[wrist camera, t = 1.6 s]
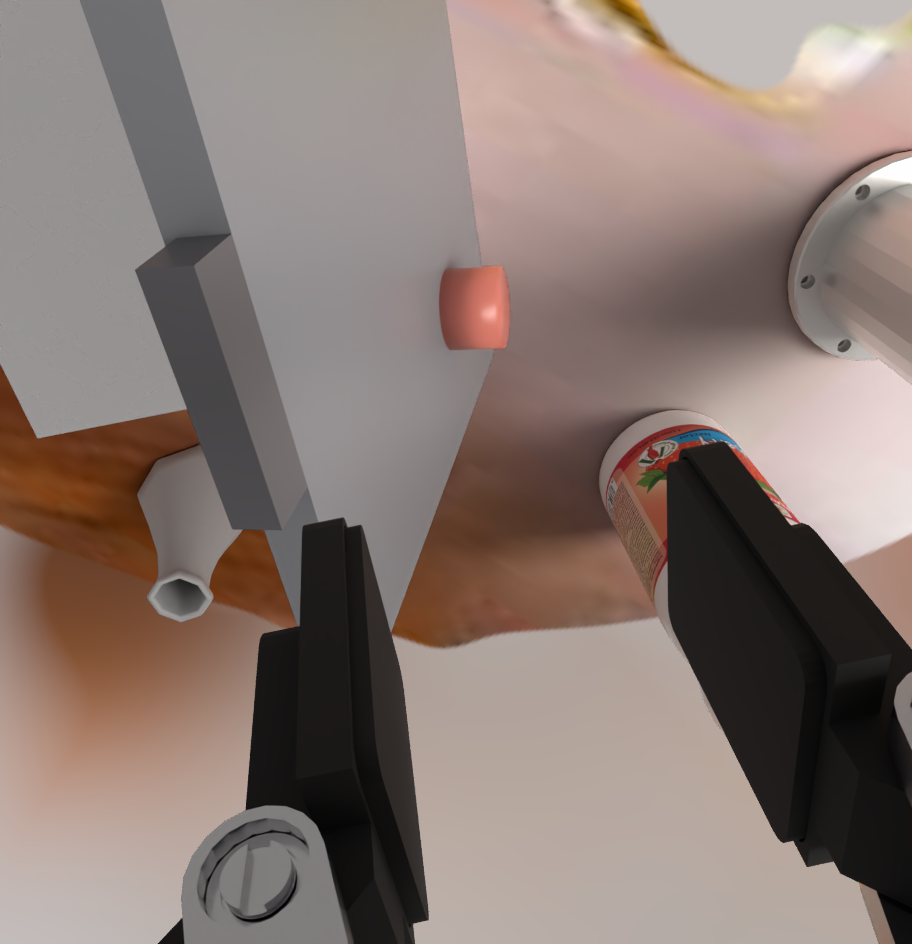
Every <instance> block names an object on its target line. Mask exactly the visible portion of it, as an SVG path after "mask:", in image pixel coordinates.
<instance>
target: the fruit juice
mask: <svg viewBox="0 0 912 944" xmlns="http://www.w3.org/2000/svg"><path fill="white" fill-rule="evenodd" d="M719 441H723V442H725V443H726V444H727V445H729V447H730V448H731V449H732V451H733V452H734V453H735V454H736V456H737V457H738V458H739V459H740V461H741V462H742V463H743V465H744V466H745V467H746V468H747V470H748V471H749V472H750V474H751V475H752V476H753V477H754V479H755V480H756V481H757V482H758V484H759V485H760V486H761V488H762V489H763V490H764V491H765V493H766V494H767V495H768V497H769V498H770V499H771V500H772V502H773V503H774V504H775V505H776V507H777V508H778V509H779V511H780V512H781V513H782V514H783V516H784V517H785V518H786V520H787V521H788V522H789V523H790V525H794V524H799V523H800V522H799V521H798V520H797V519H796V517H795V516H794V515H793V514H792V512H791V511H790V510H789V509H788V507H787V506H786V505H785V503H784V502H783V501H782V500H781V498H780V497H779V496H778V495H777V493H776V492H775V491H774V490H773V488H772V487H771V486H770V485H769V483H768V482H767V481H766V480H765V478H764V477H763V476H762V475H761V473H760V472H759V471H758V470H757V468H756V467H755V466H754V465H753V463H752V462H751V461H750V460H749V458H748V457H747V456H746V455H745V453H744V452H743V451H742V450H741V448H740V447H739V446H738V445H737V443H736V442H735V441H734V440H733V438H732V437H731V436H730V435H729V434H728V432H727V431H726V430H725V429H724V428H723V427H721V426H720V425H719V424H718V423H717V422H715V421H714V420H712V419H711V418H709V417H707V416H704V415H702V414H699V413H696V412H692V411H686V410H670V411H664V412H659V413H656V414H652V415H650V416H647V417H645V418H643V419H641V420H639V421H637V422H635V423H634V424H632V425H631V426H629V427H628V428H627V429H626V430H624V431H623V432H622V433H621V434H620V435H619V436H618V437H617V438H616V439H615V441H614V442H613V443H612V444H611V446H610V447H609V449H608V451H607V452H606V454H605V456H604V459H603V461H602V464H601V468H600V474H599V488H600V493H601V497H602V501H603V504H604V506H605V508H606V510H607V512H608V514H609V516H610V518H611V520H612V523H613V525H614V527H615V529H616V531H617V533H618V535H619V537H620V539H621V541H622V543H623V545H624V547H625V549H626V551H627V553H628V555H629V557H630V559H631V561H632V563H633V565H634V567H635V569H636V571H637V573H638V576H639V578H640V580H641V582H642V584H643V586H644V588H645V590H646V592H647V594H648V596H649V598H650V600H651V602H652V604H653V606H654V608H655V610H656V613H657V615H658V617H659V619H660V621H661V623H662V625H663V627H664V629H665V630H666V632H667V634H668V636H669V637H670V639H671V641H672V642H673V644H674V645H675V647H676V648H677V650H678V651H679V652H680V654H681V655H682V656H683V657H684V659H685V660H686V661H687V662H688V663H689V661H688V659H687V657H686V655H685V653H684V651H683V649H682V647H681V645H680V643H679V641H678V639H677V637H676V635H675V633H674V631H673V628H672V625H671V622H670V618H669V612H668V572H667V465H668V463H669V462H673V461H678V458H679V453H680V451H681V450H682V449H684V448H689V447H694V446H699V445H704V444H709V443H714V442H719ZM689 664H690V663H689ZM699 686H700V690H701V694H702V698H703V701H704V703H705V706H706V708H707V710H708V712H709V713H710V715H711V717H712V718H713V720H714V722H715V723H716V725H717V726H718V727H719V729H720V730H721V731H722V732H723V734H725V733H724V731H723V729H722V727H721V725H720V723H719V721H718V719H717V717H716V715H715V713H714V711H713V709H712V707H711V705H710V703H709V701H708V699H707V697H706V695H705V693H704V691H703V689H702V687H701V685H700V683H699Z"/></svg>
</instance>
